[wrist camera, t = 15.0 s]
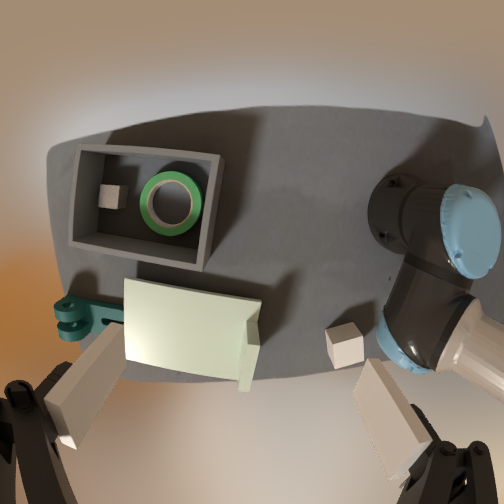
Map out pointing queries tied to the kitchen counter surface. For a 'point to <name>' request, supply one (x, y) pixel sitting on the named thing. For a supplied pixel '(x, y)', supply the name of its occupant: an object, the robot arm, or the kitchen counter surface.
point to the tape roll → (147, 203)
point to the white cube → (345, 345)
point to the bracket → (84, 317)
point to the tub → (88, 238)
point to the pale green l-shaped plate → (191, 330)
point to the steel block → (113, 196)
